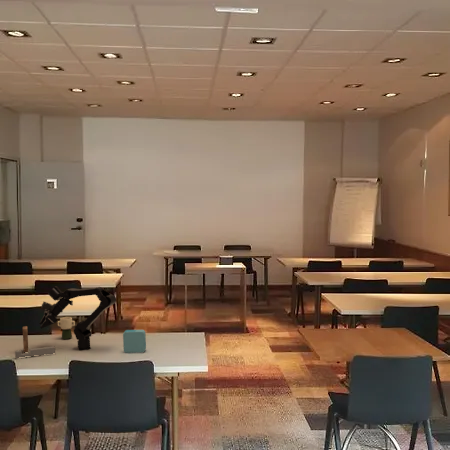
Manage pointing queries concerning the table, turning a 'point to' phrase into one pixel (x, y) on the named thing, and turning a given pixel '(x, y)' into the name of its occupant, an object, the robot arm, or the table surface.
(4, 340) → the table surface
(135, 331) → the teal square block
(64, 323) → the character mug
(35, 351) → the grey crossbar
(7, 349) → the table surface
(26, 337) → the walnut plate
